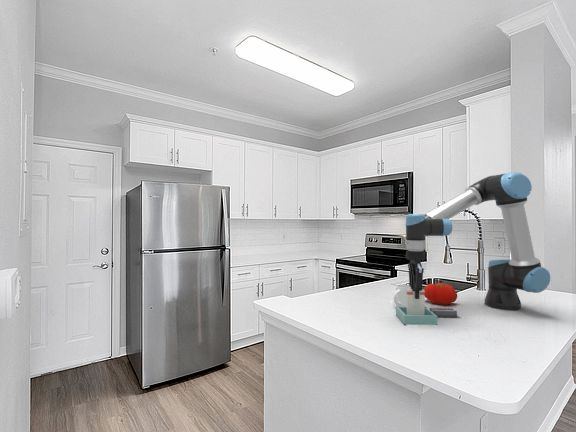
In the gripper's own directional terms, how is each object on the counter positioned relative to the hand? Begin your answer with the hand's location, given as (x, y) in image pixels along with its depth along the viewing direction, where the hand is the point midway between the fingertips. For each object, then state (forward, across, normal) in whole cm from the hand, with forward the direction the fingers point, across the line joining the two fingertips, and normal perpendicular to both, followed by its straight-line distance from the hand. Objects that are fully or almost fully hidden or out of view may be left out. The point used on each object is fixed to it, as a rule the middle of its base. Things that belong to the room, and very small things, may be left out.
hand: (415, 305), depth 137 cm
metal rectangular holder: (+6, -6, +14) cm, 17 cm away
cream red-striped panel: (+4, 0, 0) cm, 4 cm away
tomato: (+7, -28, +21) cm, 36 cm away
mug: (+7, -20, 0) cm, 21 cm away
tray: (+6, 0, 0) cm, 6 cm away
